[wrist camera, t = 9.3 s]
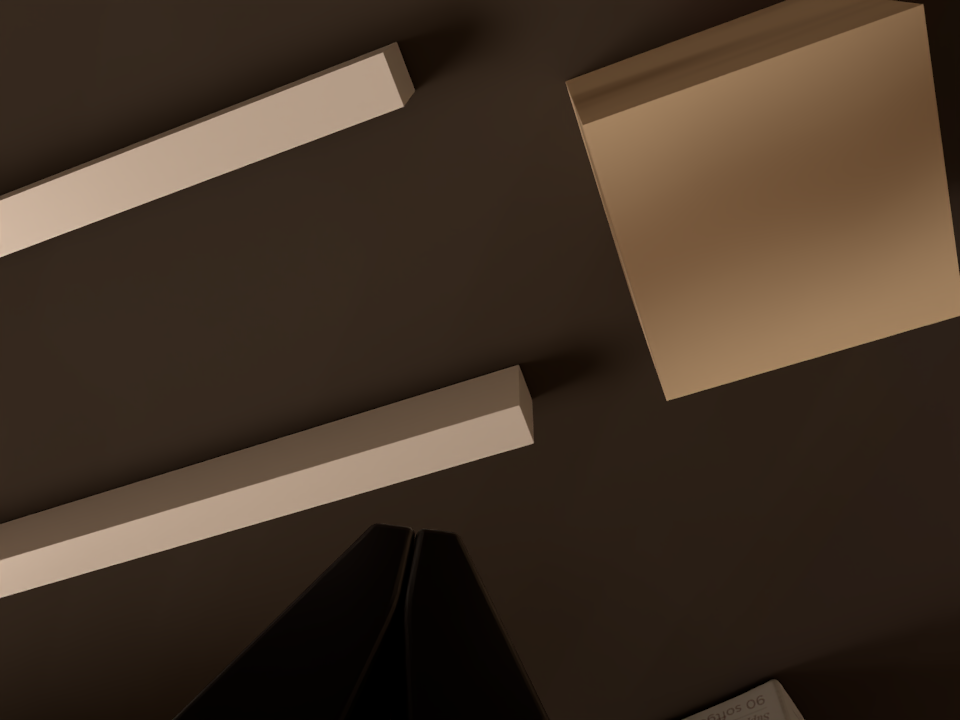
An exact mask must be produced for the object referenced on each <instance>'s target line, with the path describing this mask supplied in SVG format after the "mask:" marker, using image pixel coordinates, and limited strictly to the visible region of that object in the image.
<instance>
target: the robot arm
mask: <svg viewBox="0 0 960 720" xmlns="http://www.w3.org/2000/svg"><path fill="white" fill-rule="evenodd" d="M414 542H415V543H414ZM172 720H549V717H548V715H547V713H546V711H545V709H544V707H543V705H542V703H541V701H540V699H539V697H538V695H537V693H536V691H535V689H534V687H533V685H532V683H531V680H530V678H529V676H528V674H527V672H526V670H525V668H524V666H523V664H522V662H521V660H520V658H519V656H518V654H517V652H516V650H515V648H514V646H513V643H512V641H511V639H510V637H509V635H508V633H507V631H506V629H505V627H504V625H503V623H502V621H501V619H500V617H499V615H498V613H497V611H496V609H495V606H494V604H493V602H492V600H491V598H490V596H489V594H488V592H487V590H486V588H485V586H484V584H483V582H482V580H481V578H480V576H479V574H478V572H477V569H476V567H475V565H474V563H473V561H472V559H471V557H470V555H469V553H468V551H467V549H466V547H465V545H464V543H463V541H462V539H461V537H460V536H459V535H458V534H457V533H454V532H448V531H439V530H431V529H421V530H419V531H418V532H417V534H416V538H415V533H414V530H413V529H412V528H410V527H406V526H397V525H389V524H381V523H379V524H374V525H372V526H370V527H369V528H368V529H367V530H366V531H365V532H364V533H363V534H362V535H361V536H360V537H359V538H358V539H357V540H356V541H355V542H354V543H353V544H352V545H351V546H350V547H349V548H348V549H347V550H346V551H345V552H344V553H343V554H342V555H341V556H340V557H339V558H338V559H337V560H336V561H334V562H333V563H332V564H331V565H330V566H329V567H328V568H327V569H326V570H325V571H324V572H323V573H322V574H321V575H320V576H319V577H318V578H317V579H316V580H315V581H314V582H313V583H312V584H311V585H310V586H309V587H308V588H307V589H306V590H305V591H304V592H303V593H302V594H301V595H300V596H299V597H298V598H297V599H296V600H295V601H293V602H292V603H291V604H290V605H289V606H288V607H287V608H286V609H285V610H284V611H283V612H282V613H281V614H280V615H279V616H278V617H277V618H276V619H275V620H274V621H273V622H272V623H271V624H270V625H269V626H268V627H267V628H266V629H265V630H264V631H263V632H262V633H261V634H260V635H259V636H258V637H257V638H256V639H255V640H253V641H252V642H251V643H250V644H249V645H248V646H247V647H246V648H245V649H244V650H243V651H242V652H241V653H240V654H239V655H238V656H237V657H236V658H235V659H234V660H233V661H232V662H231V663H230V664H229V665H228V666H227V667H226V668H225V669H224V670H223V671H222V672H221V673H220V674H219V675H218V676H217V677H216V678H215V679H214V680H212V681H211V682H210V683H209V684H208V685H207V686H206V687H205V688H204V689H203V690H202V691H201V692H200V693H199V694H198V695H197V696H196V697H195V698H194V699H193V700H192V701H191V702H190V703H189V704H188V705H187V706H186V707H185V708H184V709H183V710H182V711H181V712H180V713H179V714H178V715H177V716H176V717H175V718H173V719H172Z"/></svg>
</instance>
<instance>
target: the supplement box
mask: <svg viewBox="0 0 960 720" xmlns="http://www.w3.org/2000/svg"><path fill="white" fill-rule="evenodd" d="M682 720H804V718H803V716H802V715H801V713H800V712H799V710H798V709H797V707H796V706H795V704H794V703H793V701H792V700H791V698H790V697H789V695H788V694H787V693H786V691H785V690H784V688H783V687H782V685H781V684H780V683H779V681H778V680H775V679H772V680H770V681H768V682H767V683H765V684H762V685H760V686H758V687H756V688H754V689H752V690H750V691H748V692H746V693H744V694H742V695H739V696H737V697H735V698H732V699H730V700H727V701H725V702H723V703H720V704H718V705H716V706H713V707H711V708H709V709H706V710H704V711H702V712H699V713H697V714H694V715H692V716H690V717H687V718H685V719H682Z"/></svg>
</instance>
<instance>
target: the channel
mask: <svg viewBox="0 0 960 720" xmlns="http://www.w3.org/2000/svg"><path fill="white" fill-rule="evenodd" d="M414 92H415V89H414V86H413V84H412V81H411V78H410V76H409V73H408V70H407V68H406V65H405V62H404V60H403V57H402V55H401V52H400V49H399V47H398V44H397V42H395V43H392V44H390V45H387V46H385V47H382V48H379V49H377V50H374V51H372V52H369V53H367V54H364V55H361V56H359V57H356V58H354V59H351V60H349V61H346V62H343V63H341V64H338V65H336V66H333V67H331V68H328V69H325V70H323V71H320V72H318V73H315V74H312V75H310V76H307V77H305V78H302V79H300V80H297V81H294V82H292V83H289V84H287V85H284V86H282V87H279V88H276V89H274V90H271V91H269V92H266V93H264V94H261V95H258V96H256V97H253V98H251V99H248V100H246V101H243V102H240V103H238V104H235V105H233V106H230V107H228V108H225V109H222V110H220V111H217V112H215V113H212V114H210V115H207V116H204V117H202V118H199V119H197V120H194V121H192V122H189V123H186V124H184V125H181V126H179V127H176V128H174V129H171V130H168V131H166V132H163V133H161V134H158V135H156V136H153V137H150V138H148V139H145V140H143V141H140V142H137V143H135V144H132V145H130V146H127V147H125V148H122V149H119V150H117V151H114V152H112V153H109V154H107V155H104V156H101V157H99V158H96V159H94V160H91V161H89V162H86V163H83V164H81V165H78V166H76V167H73V168H71V169H68V170H65V171H63V172H60V173H58V174H55V175H53V176H50V177H47V178H45V179H42V180H40V181H37V182H35V183H32V184H29V185H27V186H24V187H22V188H19V189H17V190H14V191H11V192H9V193H6V194H4V195H1V196H0V257H2V256H5V255H8V254H10V253H13V252H16V251H18V250H21V249H24V248H26V247H29V246H32V245H34V244H37V243H40V242H42V241H45V240H48V239H50V238H53V237H56V236H58V235H61V234H64V233H66V232H69V231H72V230H74V229H77V228H80V227H82V226H85V225H88V224H91V223H93V222H96V221H99V220H101V219H104V218H107V217H109V216H112V215H115V214H117V213H120V212H123V211H125V210H128V209H131V208H133V207H136V206H139V205H141V204H144V203H147V202H149V201H152V200H155V199H157V198H160V197H163V196H166V195H168V194H171V193H174V192H176V191H179V190H182V189H184V188H187V187H190V186H192V185H195V184H198V183H200V182H203V181H206V180H208V179H211V178H214V177H216V176H219V175H222V174H224V173H227V172H230V171H232V170H235V169H238V168H240V167H243V166H246V165H249V164H251V163H254V162H257V161H259V160H262V159H265V158H267V157H270V156H273V155H275V154H278V153H281V152H283V151H286V150H289V149H291V148H294V147H297V146H299V145H302V144H305V143H307V142H310V141H313V140H315V139H318V138H321V137H323V136H326V135H329V134H332V133H334V132H337V131H340V130H342V129H345V128H348V127H350V126H353V125H356V124H358V123H361V122H364V121H366V120H369V119H372V118H374V117H377V116H380V115H382V114H385V113H388V112H390V111H393V110H396V109H398V108H401V107H404V106H405V104H406V103H407V101H408V100H409V99H410V97H411V96H412V94H413V93H414ZM533 443H534V432H533V408H532V398H531V396H530V393H529V390H528V388H527V385H526V382H525V380H524V377H523V375H522V372H521V369H520V367H519V365H516V366H513V367H509V368H506V369H503V370H500V371H496V372H493V373H490V374H487V375H483V376H480V377H477V378H474V379H470V380H467V381H464V382H461V383H457V384H454V385H451V386H448V387H444V388H441V389H438V390H435V391H431V392H428V393H425V394H422V395H418V396H415V397H412V398H409V399H405V400H402V401H399V402H396V403H392V404H389V405H386V406H383V407H379V408H376V409H373V410H370V411H366V412H363V413H360V414H357V415H353V416H350V417H347V418H344V419H340V420H337V421H334V422H331V423H327V424H324V425H321V426H318V427H314V428H311V429H308V430H305V431H301V432H298V433H295V434H292V435H288V436H285V437H282V438H279V439H275V440H272V441H269V442H266V443H262V444H259V445H256V446H253V447H249V448H246V449H243V450H240V451H236V452H233V453H230V454H227V455H223V456H220V457H217V458H214V459H210V460H207V461H204V462H201V463H197V464H194V465H191V466H188V467H184V468H181V469H178V470H175V471H171V472H168V473H165V474H162V475H158V476H155V477H152V478H149V479H145V480H142V481H139V482H136V483H132V484H129V485H126V486H123V487H119V488H116V489H113V490H110V491H106V492H103V493H100V494H97V495H93V496H90V497H87V498H84V499H80V500H77V501H74V502H71V503H67V504H64V505H61V506H58V507H54V508H51V509H48V510H45V511H41V512H38V513H35V514H32V515H28V516H25V517H22V518H19V519H15V520H12V521H9V522H6V523H2V524H0V598H1V597H5V596H8V595H12V594H15V593H19V592H22V591H26V590H29V589H32V588H36V587H39V586H43V585H46V584H50V583H53V582H57V581H60V580H64V579H67V578H70V577H74V576H77V575H81V574H84V573H88V572H91V571H95V570H98V569H102V568H105V567H108V566H112V565H115V564H119V563H122V562H126V561H129V560H133V559H136V558H139V557H143V556H146V555H150V554H153V553H157V552H160V551H164V550H167V549H171V548H174V547H177V546H181V545H184V544H188V543H191V542H195V541H198V540H202V539H205V538H209V537H212V536H215V535H219V534H222V533H226V532H229V531H233V530H236V529H240V528H243V527H247V526H250V525H253V524H257V523H260V522H264V521H267V520H271V519H274V518H278V517H281V516H285V515H288V514H291V513H295V512H298V511H302V510H305V509H309V508H312V507H316V506H319V505H322V504H326V503H329V502H333V501H336V500H340V499H343V498H347V497H350V496H354V495H357V494H360V493H364V492H367V491H371V490H374V489H378V488H381V487H385V486H388V485H392V484H395V483H398V482H402V481H405V480H409V479H412V478H416V477H419V476H423V475H426V474H430V473H433V472H436V471H440V470H443V469H447V468H450V467H454V466H457V465H461V464H464V463H467V462H471V461H474V460H478V459H481V458H485V457H488V456H492V455H495V454H499V453H502V452H505V451H509V450H512V449H516V448H519V447H523V446H526V445H530V444H533Z"/></svg>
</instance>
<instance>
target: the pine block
mask: <svg viewBox="0 0 960 720" xmlns="http://www.w3.org/2000/svg"><path fill="white" fill-rule="evenodd" d="M565 82H566V85H567V89H568V92H569V95H570V98H571V102H572V105H573V108H574V112H575V115H576V118H577V121H578V125H579V128H580V131H581V134H582V138H583V141H584V144H585V147H586V151H587V154H588V157H589V160H590V164H591V167H592V170H593V173H594V177H595V180H596V183H597V187H598V190H599V193H600V196H601V200H602V203H603V206H604V209H605V213H606V216H607V219H608V222H609V226H610V229H611V232H612V235H613V239H614V242H615V245H616V249H617V252H618V255H619V258H620V262H621V265H622V268H623V271H624V275H625V278H626V281H627V284H628V288H629V291H630V294H631V297H632V300H633V303H634V306H635V309H636V312H637V315H638V318H639V321H640V324H641V327H642V330H643V333H644V336H645V339H646V341H647V344H648V347H649V350H650V353H651V356H652V359H653V362H654V365H655V368H656V371H657V374H658V377H659V380H660V382H661V385H662V388H663V391H664V394H665V397H666V400H667V401H668V400H672V399H675V398H678V397H682V396H685V395H689V394H692V393H696V392H699V391H703V390H706V389H709V388H713V387H716V386H720V385H723V384H727V383H730V382H734V381H737V380H740V379H744V378H747V377H751V376H754V375H758V374H761V373H764V372H768V371H771V370H775V369H778V368H782V367H785V366H789V365H792V364H795V363H799V362H802V361H806V360H809V359H813V358H816V357H819V356H823V355H826V354H830V353H833V352H837V351H840V350H844V349H847V348H850V347H854V346H857V345H861V344H864V343H868V342H871V341H875V340H878V339H881V338H885V337H888V336H892V335H895V334H899V333H902V332H905V331H909V330H912V329H916V328H919V327H923V326H926V325H930V324H933V323H936V322H940V321H943V320H947V319H950V318H954V317H957V316H960V275H959V268H958V260H957V253H956V245H955V238H954V230H953V223H952V215H951V208H950V200H949V193H948V185H947V178H946V170H945V163H944V155H943V148H942V140H941V133H940V125H939V118H938V111H937V103H936V96H935V88H934V81H933V73H932V66H931V58H930V51H929V43H928V36H927V28H926V21H925V13H924V6H923V4H917V3H909V2H901V1H893V0H786V1H783V2H781V3H778V4H775V5H772V6H770V7H767V8H764V9H761V10H759V11H756V12H753V13H751V14H748V15H745V16H742V17H740V18H737V19H734V20H731V21H729V22H726V23H723V24H721V25H718V26H715V27H712V28H710V29H707V30H704V31H701V32H699V33H696V34H693V35H691V36H688V37H685V38H682V39H680V40H677V41H674V42H671V43H669V44H666V45H663V46H661V47H658V48H655V49H652V50H650V51H647V52H644V53H641V54H639V55H636V56H633V57H631V58H628V59H625V60H622V61H620V62H617V63H614V64H611V65H609V66H606V67H603V68H601V69H598V70H595V71H592V72H590V73H587V74H584V75H581V76H579V77H576V78H573V79H571V80H568V81H565Z"/></svg>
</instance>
